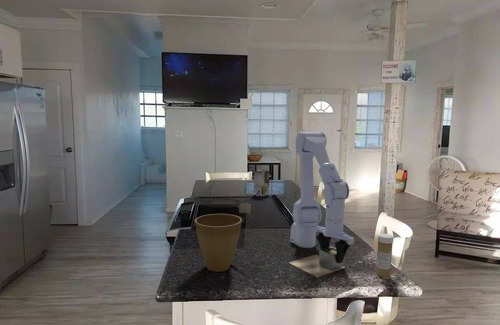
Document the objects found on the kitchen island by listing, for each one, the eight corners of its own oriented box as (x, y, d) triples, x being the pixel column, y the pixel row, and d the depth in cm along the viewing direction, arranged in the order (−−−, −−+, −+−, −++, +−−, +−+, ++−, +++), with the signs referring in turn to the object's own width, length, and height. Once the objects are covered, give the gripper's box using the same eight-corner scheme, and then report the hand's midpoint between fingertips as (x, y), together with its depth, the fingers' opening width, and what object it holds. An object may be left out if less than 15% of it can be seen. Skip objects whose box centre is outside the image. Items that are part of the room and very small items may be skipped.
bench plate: (288, 265, 117) (288, 262, 117) (315, 257, 124) (315, 254, 124) (317, 280, 106) (317, 277, 106) (345, 270, 114) (345, 267, 114)
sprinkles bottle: (378, 272, 113) (381, 231, 112) (392, 276, 110) (396, 235, 109) (372, 276, 110) (375, 235, 108) (387, 281, 107) (390, 238, 105)
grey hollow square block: (318, 264, 115) (319, 249, 114) (330, 260, 118) (331, 246, 117) (331, 270, 110) (332, 255, 110) (343, 266, 113) (344, 251, 113)
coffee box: (261, 193, 232) (261, 169, 230) (269, 194, 228) (270, 170, 226) (253, 195, 224) (253, 170, 223) (261, 197, 221) (262, 171, 219)
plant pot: (237, 257, 122) (239, 213, 120) (243, 276, 108) (244, 225, 106) (194, 258, 120) (195, 213, 118) (194, 278, 105) (194, 226, 104)
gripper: (309, 215, 116) (307, 254, 118) (344, 226, 104) (341, 269, 106) (323, 212, 120) (321, 250, 122) (359, 222, 108) (356, 264, 110)
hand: (332, 259), depth 114 cm, fingers closed on grey hollow square block, 5 cm apart
